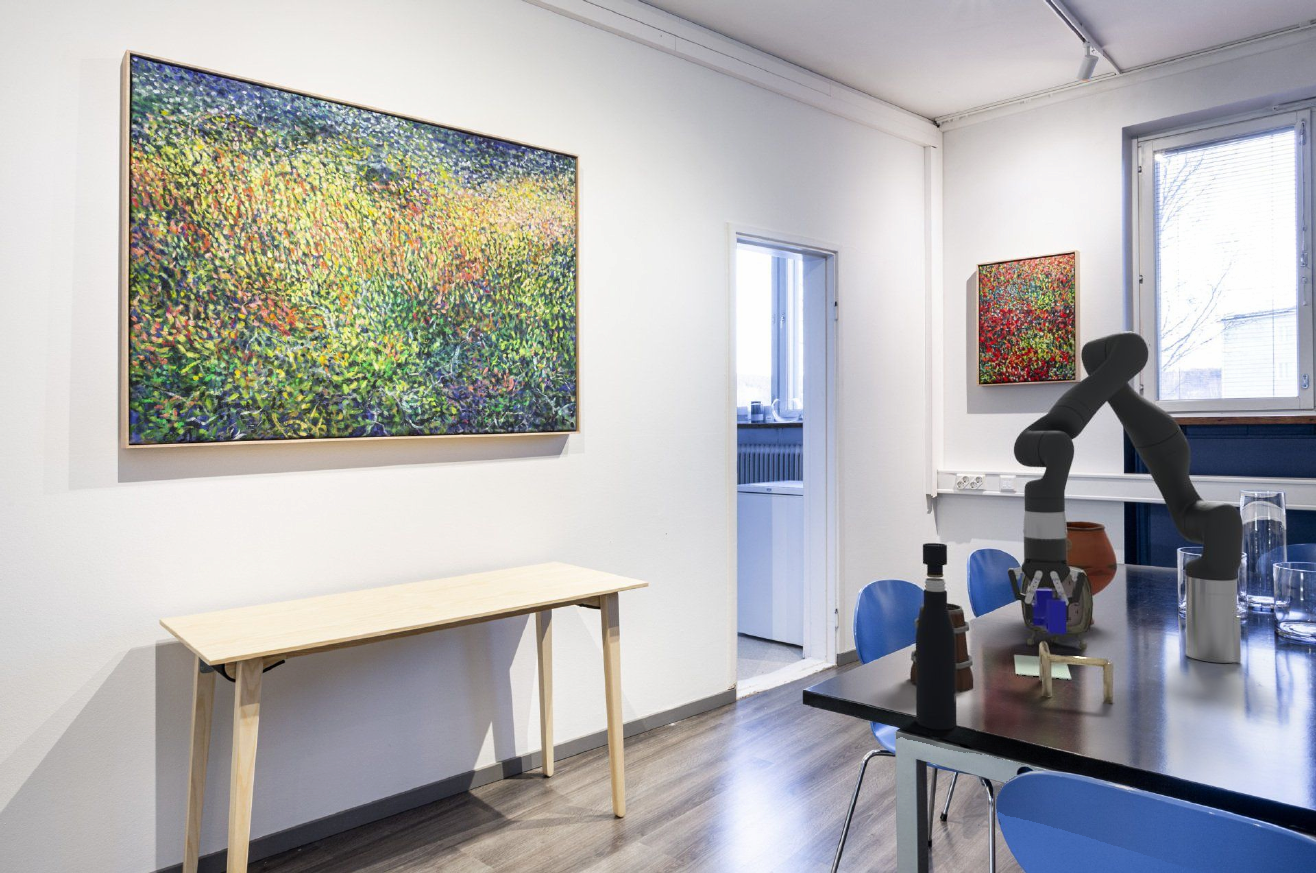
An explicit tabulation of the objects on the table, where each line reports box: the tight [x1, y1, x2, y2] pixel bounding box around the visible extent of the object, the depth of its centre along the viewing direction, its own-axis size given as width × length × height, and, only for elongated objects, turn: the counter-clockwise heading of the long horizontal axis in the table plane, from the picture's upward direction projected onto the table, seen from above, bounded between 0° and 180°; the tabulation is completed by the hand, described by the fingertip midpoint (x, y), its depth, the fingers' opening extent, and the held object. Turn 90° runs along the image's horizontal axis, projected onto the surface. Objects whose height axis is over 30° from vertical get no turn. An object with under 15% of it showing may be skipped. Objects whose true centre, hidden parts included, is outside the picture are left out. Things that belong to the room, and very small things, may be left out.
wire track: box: [1038, 641, 1114, 704], centre depth 157 cm, size 12×12×8 cm
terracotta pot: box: [1066, 520, 1118, 625], centre depth 213 cm, size 19×19×25 cm
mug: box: [909, 602, 974, 692], centre depth 164 cm, size 16×12×15 cm
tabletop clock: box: [1020, 539, 1094, 650], centre depth 190 cm, size 14×9×25 cm, turn 68°
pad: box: [1013, 654, 1072, 681], centre depth 172 cm, size 10×15×1 cm, turn 158°
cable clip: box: [1032, 589, 1067, 635], centre depth 161 cm, size 12×4×6 cm, turn 167°
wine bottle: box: [915, 542, 958, 731], centre depth 140 cm, size 6×6×30 cm
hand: (1046, 622), depth 160 cm, fingers closed on cable clip, 5 cm apart
